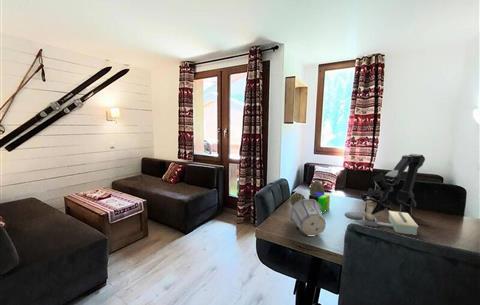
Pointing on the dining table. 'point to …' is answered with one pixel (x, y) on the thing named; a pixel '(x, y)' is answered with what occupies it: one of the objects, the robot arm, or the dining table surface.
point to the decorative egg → (316, 188)
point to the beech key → (370, 210)
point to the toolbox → (396, 223)
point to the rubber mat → (353, 215)
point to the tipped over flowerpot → (307, 215)
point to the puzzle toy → (321, 200)
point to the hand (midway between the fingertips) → (368, 212)
